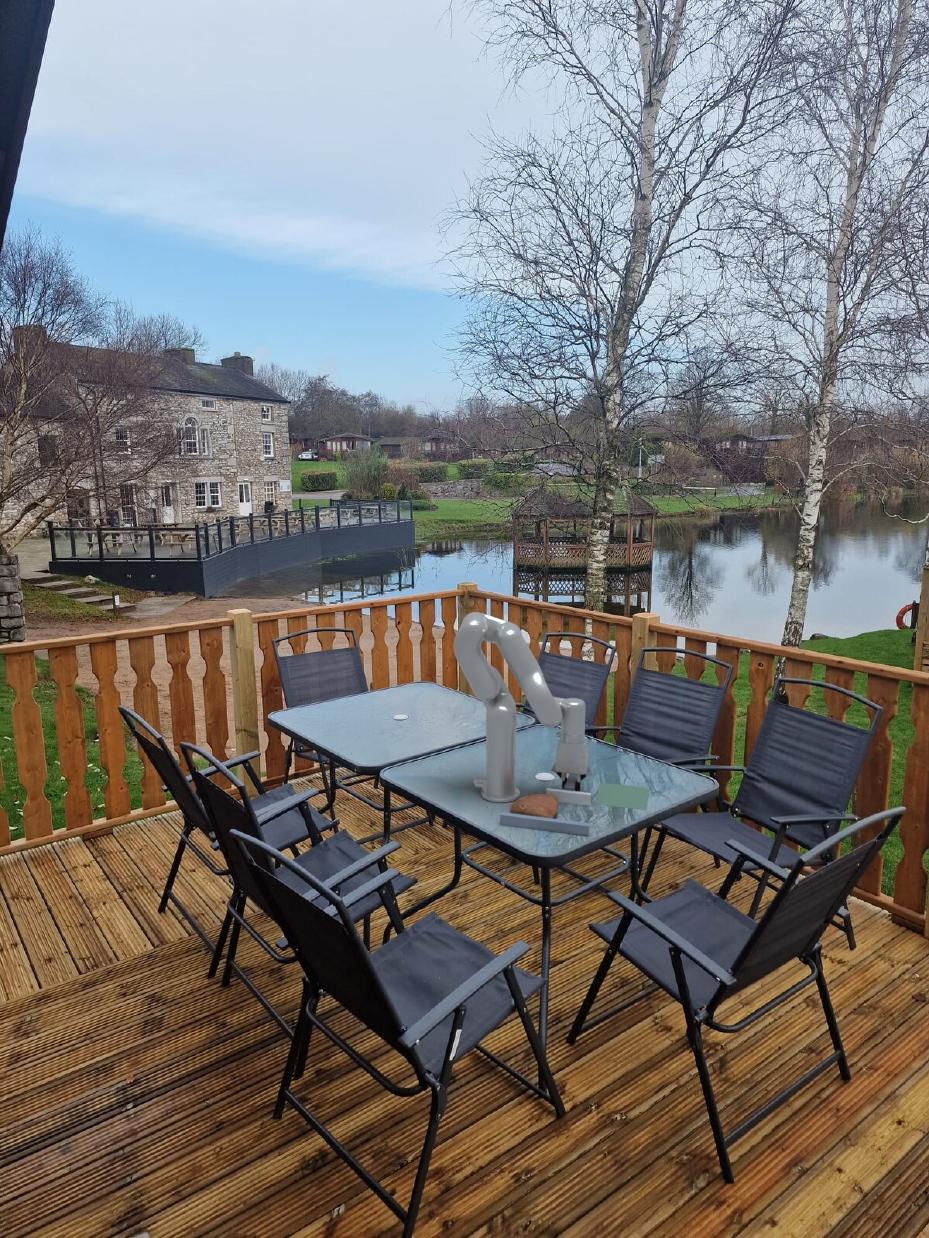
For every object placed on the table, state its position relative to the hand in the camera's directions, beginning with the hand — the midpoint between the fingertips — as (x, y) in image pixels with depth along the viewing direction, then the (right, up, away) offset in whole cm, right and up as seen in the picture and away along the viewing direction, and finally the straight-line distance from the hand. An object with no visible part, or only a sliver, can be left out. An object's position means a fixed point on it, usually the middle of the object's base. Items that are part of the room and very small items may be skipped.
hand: (571, 791), depth 244 cm
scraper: (0, -1, +1) cm, 2 cm away
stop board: (-11, -6, -23) cm, 26 cm away
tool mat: (+17, -2, 0) cm, 17 cm away
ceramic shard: (-10, -4, -11) cm, 16 cm away
